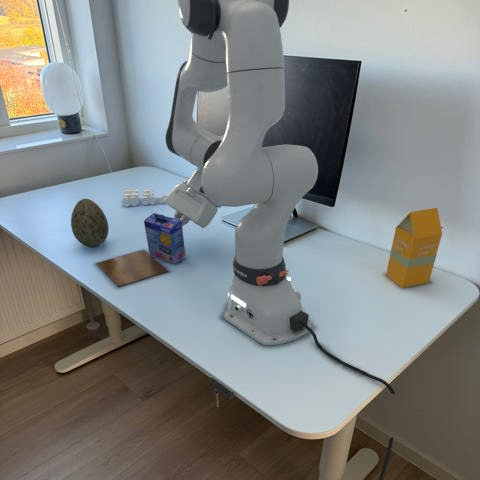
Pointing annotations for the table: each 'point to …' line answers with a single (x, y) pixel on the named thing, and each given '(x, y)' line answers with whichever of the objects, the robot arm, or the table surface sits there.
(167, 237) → the ink cartridge box
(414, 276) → the orange juice
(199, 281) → the table surface
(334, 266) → the table surface
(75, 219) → the decorative egg
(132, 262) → the placemat
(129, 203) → the modular blocks
